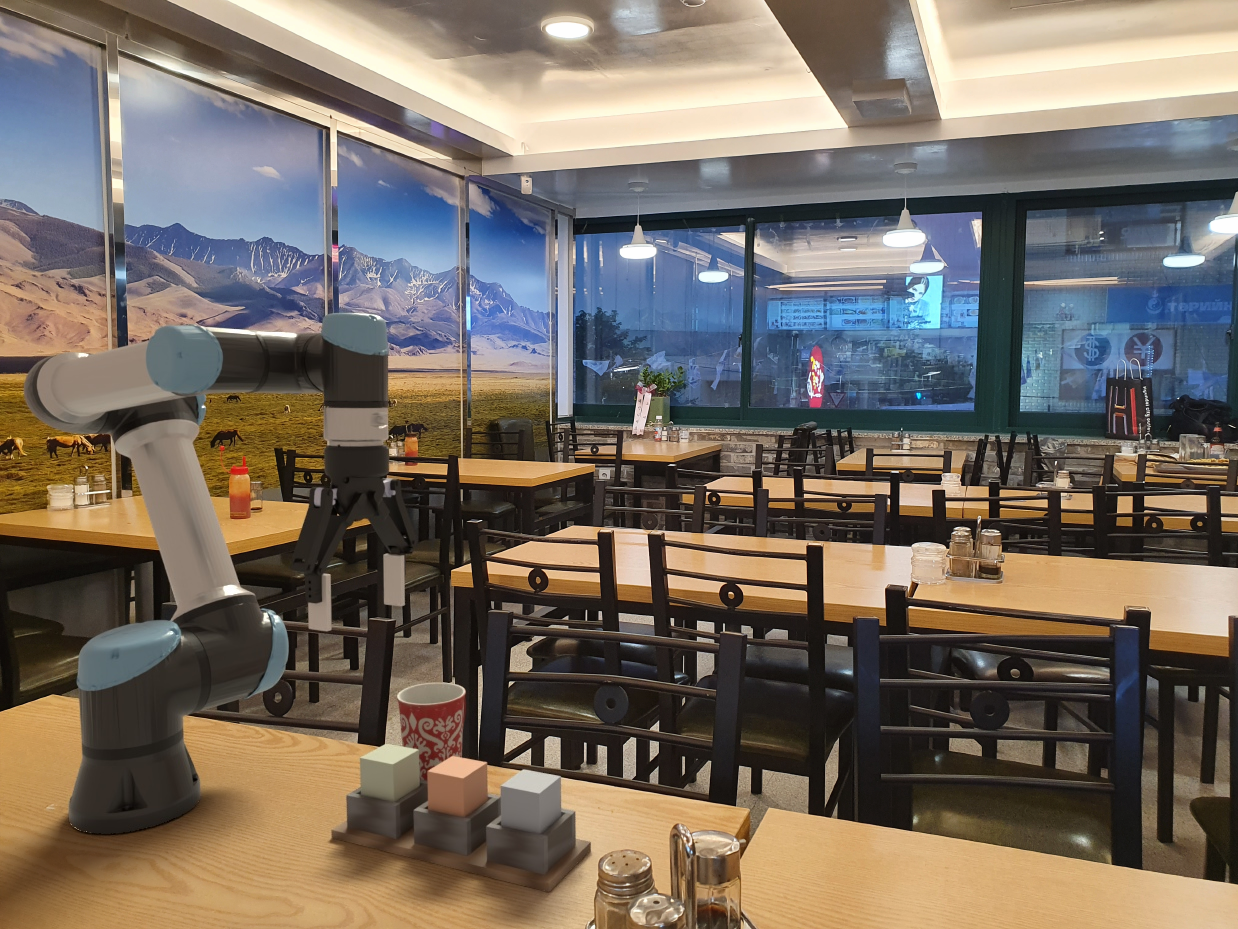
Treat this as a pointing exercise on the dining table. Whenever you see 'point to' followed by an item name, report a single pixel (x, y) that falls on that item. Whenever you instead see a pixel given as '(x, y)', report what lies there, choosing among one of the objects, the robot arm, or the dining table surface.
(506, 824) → the slate button
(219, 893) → the dining table surface
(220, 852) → the dining table surface
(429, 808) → the terracotta button
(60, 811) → the dining table surface
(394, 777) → the sage button
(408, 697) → the mug
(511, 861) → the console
